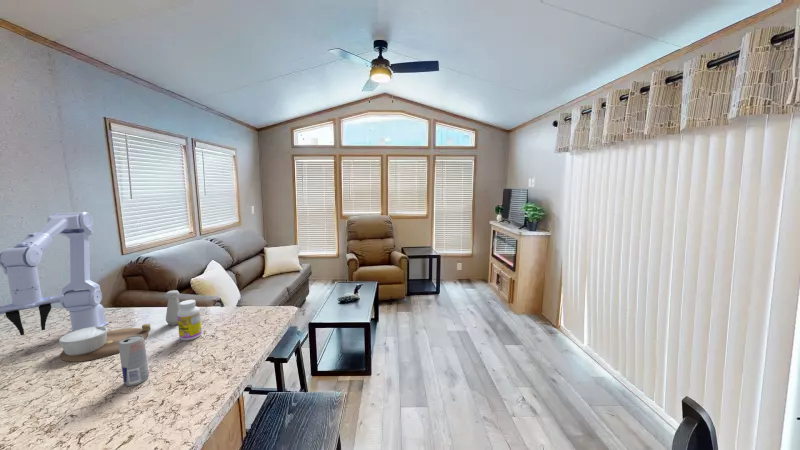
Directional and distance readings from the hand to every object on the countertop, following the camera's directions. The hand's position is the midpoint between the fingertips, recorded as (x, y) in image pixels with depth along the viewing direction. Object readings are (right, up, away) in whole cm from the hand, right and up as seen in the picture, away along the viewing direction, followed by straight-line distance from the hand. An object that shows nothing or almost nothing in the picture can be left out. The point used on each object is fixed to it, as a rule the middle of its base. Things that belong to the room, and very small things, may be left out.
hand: (33, 331), depth 95 cm
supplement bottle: (+35, -8, +18) cm, 40 cm away
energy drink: (+37, -11, -7) cm, 39 cm away
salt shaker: (+22, -7, +29) cm, 37 cm away
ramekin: (+7, -9, +9) cm, 15 cm away
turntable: (+10, -9, +13) cm, 19 cm away
